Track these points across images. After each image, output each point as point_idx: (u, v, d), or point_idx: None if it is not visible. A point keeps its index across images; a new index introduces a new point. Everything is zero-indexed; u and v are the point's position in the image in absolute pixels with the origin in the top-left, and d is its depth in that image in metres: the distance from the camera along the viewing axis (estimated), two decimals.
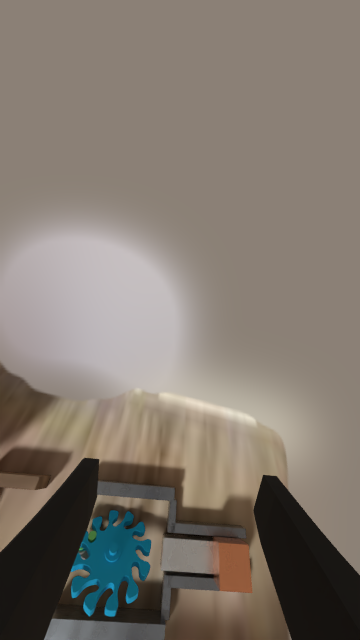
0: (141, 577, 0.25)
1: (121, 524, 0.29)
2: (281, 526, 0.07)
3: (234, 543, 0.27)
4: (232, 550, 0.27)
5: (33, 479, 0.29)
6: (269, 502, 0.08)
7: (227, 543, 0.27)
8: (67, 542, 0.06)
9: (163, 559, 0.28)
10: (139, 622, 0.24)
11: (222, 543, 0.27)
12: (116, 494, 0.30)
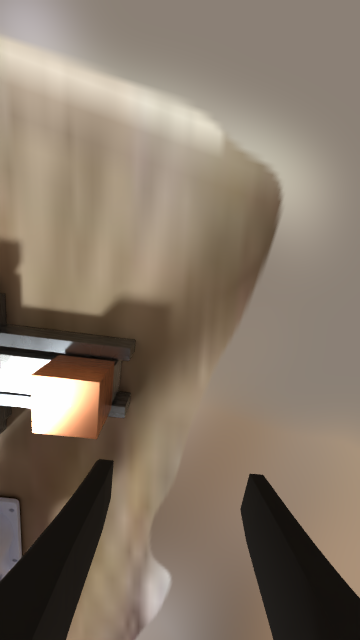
0: None
1: None
2: (265, 525, 0.07)
3: (71, 377, 0.12)
4: (61, 387, 0.12)
5: None
6: (254, 501, 0.08)
7: (53, 376, 0.12)
8: (86, 544, 0.06)
9: None
10: None
11: (40, 376, 0.12)
12: None
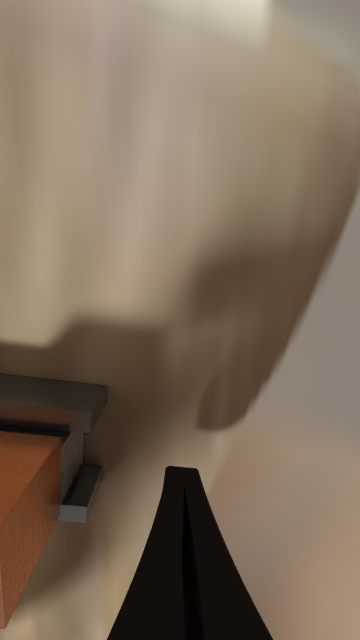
0: None
1: None
2: (184, 518, 0.07)
3: None
4: None
5: None
6: None
7: None
8: None
9: None
10: None
11: None
12: None
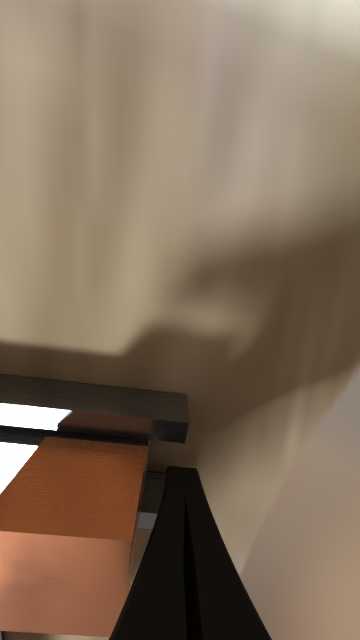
0: None
1: None
2: None
3: (67, 523, 0.06)
4: (44, 551, 0.05)
5: None
6: None
7: (26, 526, 0.05)
8: None
9: None
10: None
11: None
12: None
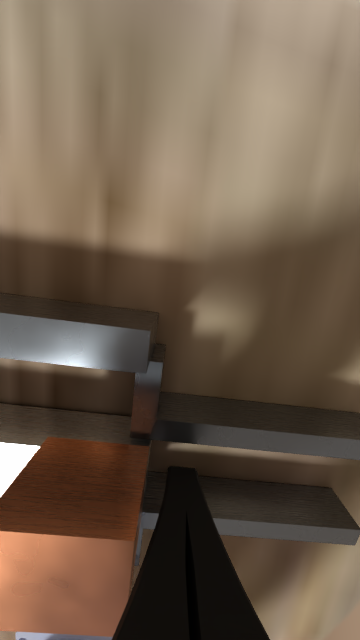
0: None
1: None
2: None
3: (70, 523, 0.06)
4: (47, 551, 0.05)
5: None
6: None
7: (29, 526, 0.05)
8: None
9: None
10: None
11: None
12: None
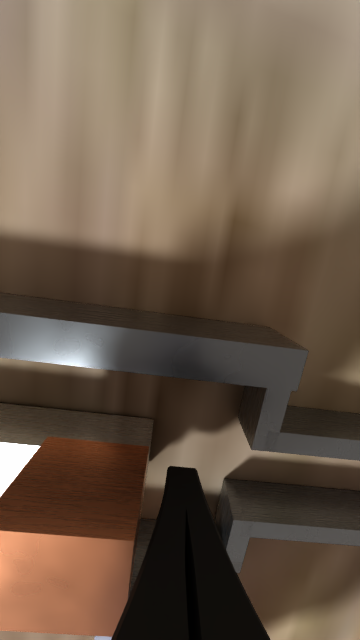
0: None
1: None
2: None
3: (70, 523, 0.06)
4: (47, 551, 0.05)
5: None
6: None
7: (29, 526, 0.05)
8: None
9: None
10: None
11: None
12: (43, 357, 0.07)
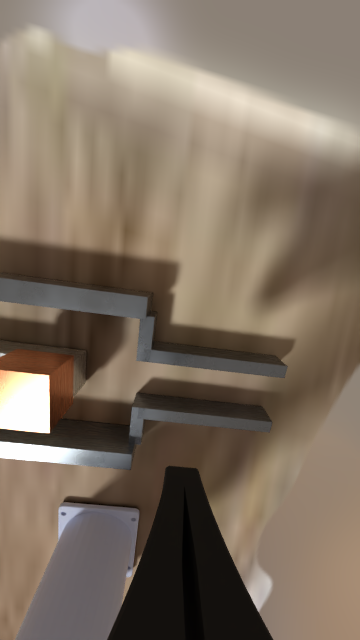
0: None
1: None
2: (184, 518, 0.07)
3: (21, 369, 0.12)
4: (10, 380, 0.12)
5: None
6: None
7: (2, 369, 0.12)
8: None
9: None
10: (94, 448, 0.16)
11: None
12: (14, 299, 0.13)
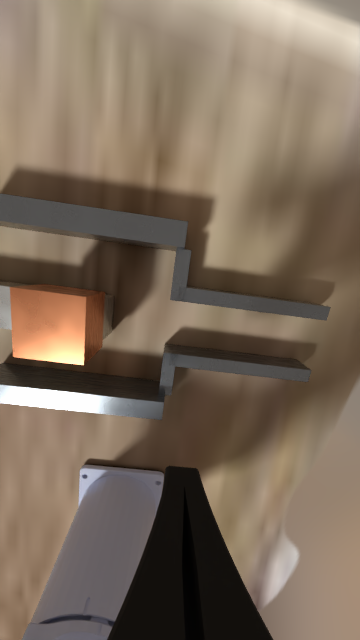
0: None
1: None
2: (184, 518, 0.07)
3: (55, 292, 0.11)
4: (43, 302, 0.11)
5: None
6: None
7: (35, 290, 0.11)
8: None
9: None
10: (123, 396, 0.15)
11: (21, 289, 0.11)
12: (44, 224, 0.12)
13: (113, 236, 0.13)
